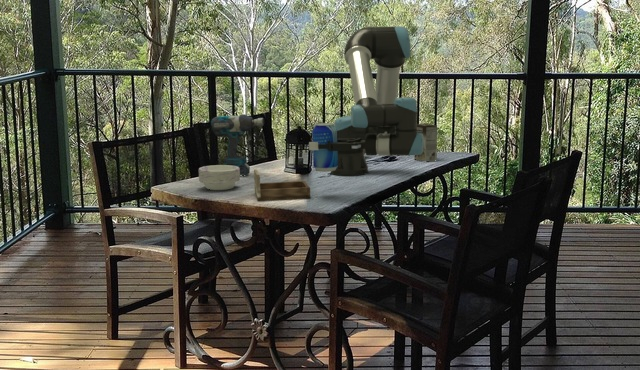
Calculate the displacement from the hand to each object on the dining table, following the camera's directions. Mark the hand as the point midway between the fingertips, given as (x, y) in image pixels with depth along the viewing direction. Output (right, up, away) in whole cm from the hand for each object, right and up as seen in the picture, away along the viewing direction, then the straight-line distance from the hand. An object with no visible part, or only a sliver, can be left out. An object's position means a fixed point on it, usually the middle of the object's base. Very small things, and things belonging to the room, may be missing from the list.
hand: (311, 144), depth 271 cm
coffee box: (+50, -3, +78) cm, 93 cm away
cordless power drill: (-30, -10, +51) cm, 60 cm away
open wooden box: (-10, -18, +4) cm, 21 cm away
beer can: (+5, -9, 0) cm, 10 cm away
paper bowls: (-34, -15, +22) cm, 44 cm away
